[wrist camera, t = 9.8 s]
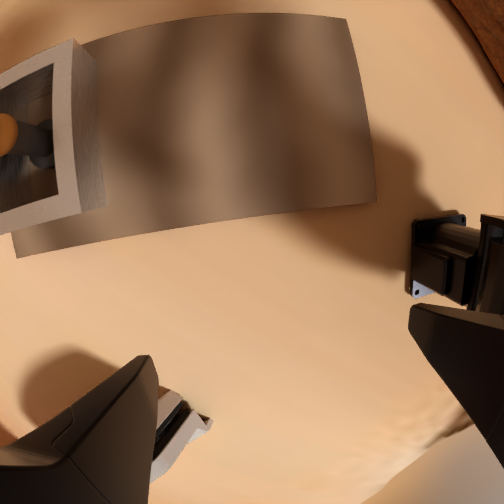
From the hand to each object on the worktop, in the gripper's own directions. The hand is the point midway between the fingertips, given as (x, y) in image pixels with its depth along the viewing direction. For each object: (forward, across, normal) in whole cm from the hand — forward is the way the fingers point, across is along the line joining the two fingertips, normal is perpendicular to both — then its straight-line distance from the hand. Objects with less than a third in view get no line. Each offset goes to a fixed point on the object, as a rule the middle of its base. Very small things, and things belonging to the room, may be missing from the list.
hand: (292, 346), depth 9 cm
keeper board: (+11, +4, -10) cm, 15 cm away
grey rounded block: (+11, +14, +15) cm, 23 cm away
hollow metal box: (+10, +12, -10) cm, 18 cm away
